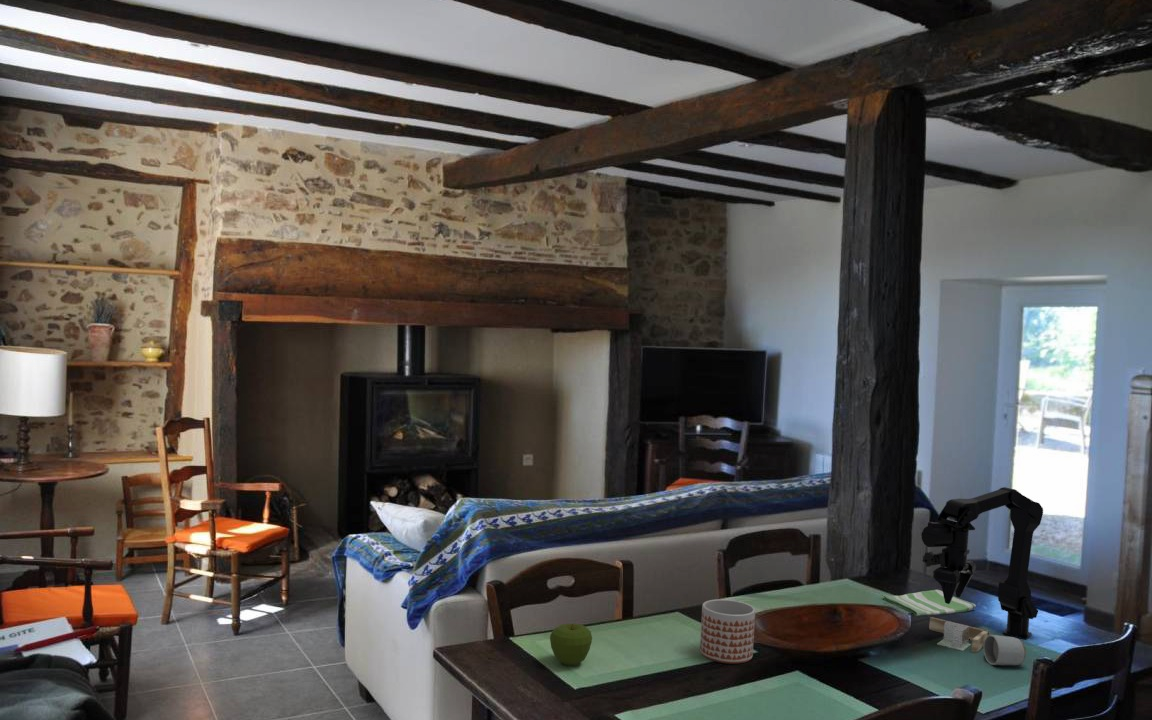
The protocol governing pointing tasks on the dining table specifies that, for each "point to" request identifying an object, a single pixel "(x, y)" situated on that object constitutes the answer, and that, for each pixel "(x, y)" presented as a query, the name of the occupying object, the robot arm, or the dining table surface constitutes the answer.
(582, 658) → the apple
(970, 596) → the dining table surface
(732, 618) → the planter
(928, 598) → the dish towel
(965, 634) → the bracket
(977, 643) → the corner arena
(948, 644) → the pad
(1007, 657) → the ceramic mug
